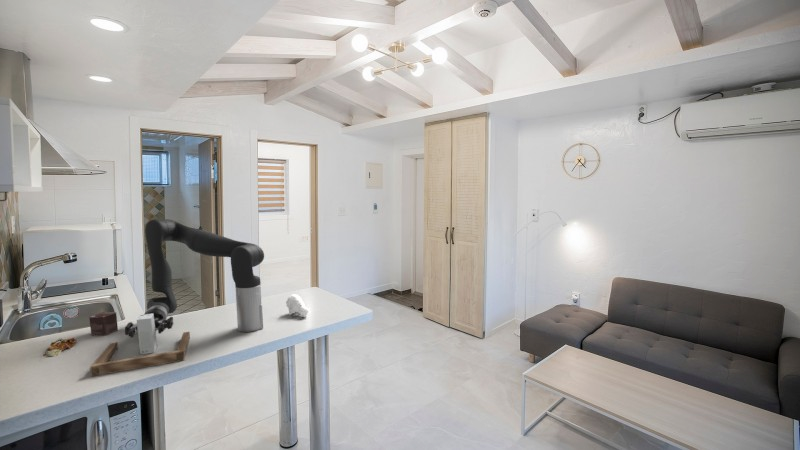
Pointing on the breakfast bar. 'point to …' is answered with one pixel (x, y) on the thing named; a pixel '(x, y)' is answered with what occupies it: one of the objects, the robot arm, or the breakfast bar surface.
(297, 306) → the white lumpy piece
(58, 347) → the pastry
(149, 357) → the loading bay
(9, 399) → the breakfast bar surface
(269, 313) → the breakfast bar surface
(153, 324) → the skincare box
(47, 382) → the breakfast bar surface
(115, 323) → the box
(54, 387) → the breakfast bar surface
